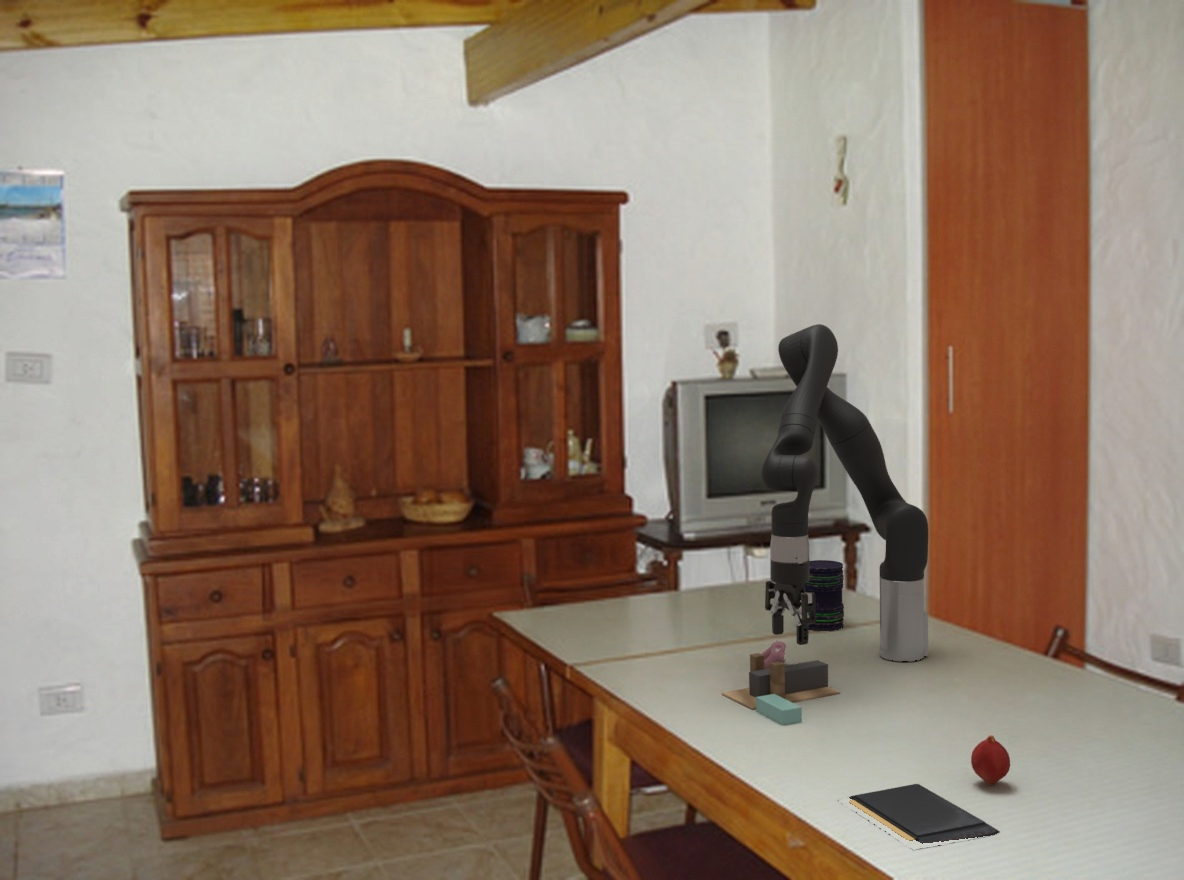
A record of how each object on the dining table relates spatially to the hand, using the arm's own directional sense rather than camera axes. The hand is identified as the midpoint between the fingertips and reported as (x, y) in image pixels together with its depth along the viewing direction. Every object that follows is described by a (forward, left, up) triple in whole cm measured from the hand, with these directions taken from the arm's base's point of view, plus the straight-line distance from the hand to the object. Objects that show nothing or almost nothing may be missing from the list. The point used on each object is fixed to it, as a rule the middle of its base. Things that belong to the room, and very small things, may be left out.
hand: (790, 639), depth 241 cm
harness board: (+3, +1, -11) cm, 11 cm away
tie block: (+10, +12, -11) cm, 19 cm away
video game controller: (-5, -15, -11) cm, 19 cm away
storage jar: (-35, -38, -11) cm, 53 cm away
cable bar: (+1, +1, -10) cm, 10 cm away
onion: (+1, +56, -11) cm, 57 cm away
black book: (+19, +60, -11) cm, 63 cm away
